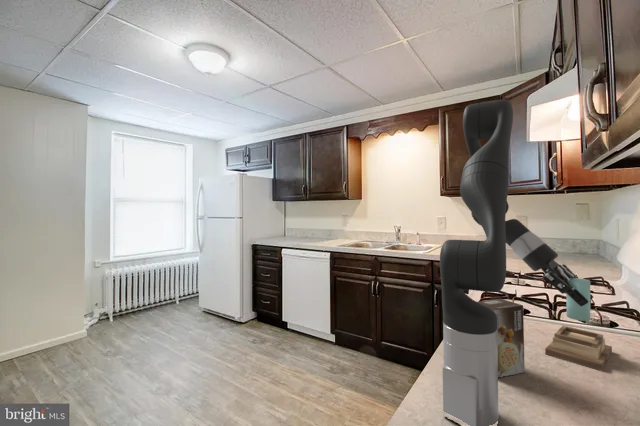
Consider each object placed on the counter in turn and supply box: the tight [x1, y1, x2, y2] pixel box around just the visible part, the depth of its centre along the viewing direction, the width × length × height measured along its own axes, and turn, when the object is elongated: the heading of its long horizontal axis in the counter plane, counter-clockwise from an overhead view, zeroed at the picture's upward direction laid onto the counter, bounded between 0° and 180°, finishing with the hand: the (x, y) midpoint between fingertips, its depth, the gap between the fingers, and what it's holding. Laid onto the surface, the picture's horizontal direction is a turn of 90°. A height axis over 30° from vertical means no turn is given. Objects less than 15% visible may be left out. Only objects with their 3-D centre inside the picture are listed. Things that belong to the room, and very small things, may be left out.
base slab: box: [544, 325, 613, 371], centre depth 80 cm, size 14×11×5 cm
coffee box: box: [477, 298, 526, 378], centre depth 73 cm, size 9×6×16 cm
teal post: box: [565, 277, 591, 322], centre depth 80 cm, size 5×5×10 cm
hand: (587, 301), depth 79 cm, fingers closed on teal post, 4 cm apart
